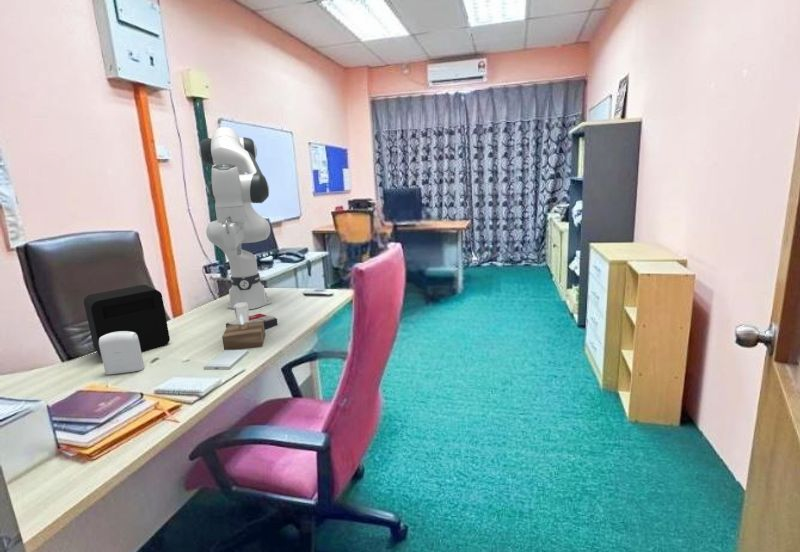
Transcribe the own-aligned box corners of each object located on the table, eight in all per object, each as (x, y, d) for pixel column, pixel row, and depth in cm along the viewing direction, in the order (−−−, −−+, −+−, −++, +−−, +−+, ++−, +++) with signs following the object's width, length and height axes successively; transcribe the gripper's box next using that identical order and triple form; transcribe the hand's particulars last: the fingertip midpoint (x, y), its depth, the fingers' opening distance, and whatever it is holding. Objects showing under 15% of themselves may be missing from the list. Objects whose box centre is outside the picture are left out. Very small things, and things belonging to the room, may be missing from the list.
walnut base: (229, 338, 152) (227, 325, 151) (265, 334, 154) (263, 321, 153) (224, 351, 140) (221, 336, 139) (262, 346, 143) (260, 332, 142)
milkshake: (249, 324, 150) (245, 297, 148) (252, 329, 145) (248, 300, 143) (235, 327, 148) (231, 299, 146) (238, 331, 143) (233, 302, 141)
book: (277, 316, 164) (242, 326, 152) (278, 327, 164) (243, 338, 153) (259, 312, 170) (224, 321, 158) (260, 322, 171) (226, 332, 159)
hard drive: (224, 349, 139) (203, 366, 127) (248, 349, 138) (229, 366, 126) (225, 354, 139) (203, 371, 127) (249, 354, 138) (230, 371, 126)
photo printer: (103, 376, 126) (94, 336, 124) (110, 370, 130) (101, 331, 128) (141, 372, 128) (133, 332, 125) (146, 366, 132) (139, 327, 129)
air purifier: (158, 335, 160) (148, 282, 156) (171, 344, 150) (161, 288, 145) (93, 351, 146) (81, 295, 142) (103, 363, 136) (89, 302, 132)
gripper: (236, 218, 131) (242, 262, 134) (245, 212, 150) (250, 251, 153) (214, 219, 129) (221, 264, 133) (225, 213, 149) (231, 253, 152)
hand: (236, 257), depth 143 cm, fingers open, 8 cm apart
